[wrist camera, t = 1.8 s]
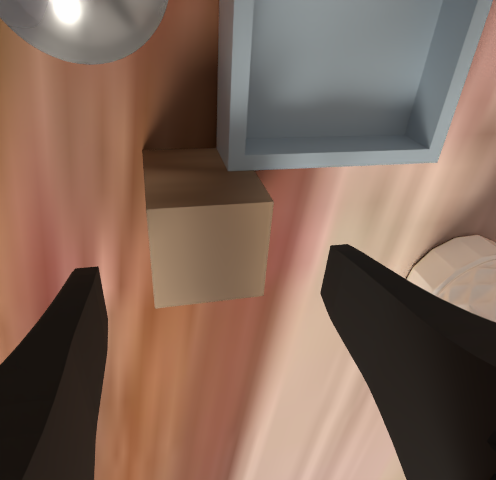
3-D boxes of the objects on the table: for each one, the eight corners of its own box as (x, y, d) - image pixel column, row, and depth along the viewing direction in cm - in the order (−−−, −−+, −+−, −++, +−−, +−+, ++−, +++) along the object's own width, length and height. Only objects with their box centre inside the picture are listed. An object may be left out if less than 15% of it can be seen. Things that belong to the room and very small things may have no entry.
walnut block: (149, 233, 18) (154, 308, 14) (142, 149, 16) (146, 209, 12) (235, 227, 19) (263, 295, 15) (239, 146, 17) (273, 201, 13)
